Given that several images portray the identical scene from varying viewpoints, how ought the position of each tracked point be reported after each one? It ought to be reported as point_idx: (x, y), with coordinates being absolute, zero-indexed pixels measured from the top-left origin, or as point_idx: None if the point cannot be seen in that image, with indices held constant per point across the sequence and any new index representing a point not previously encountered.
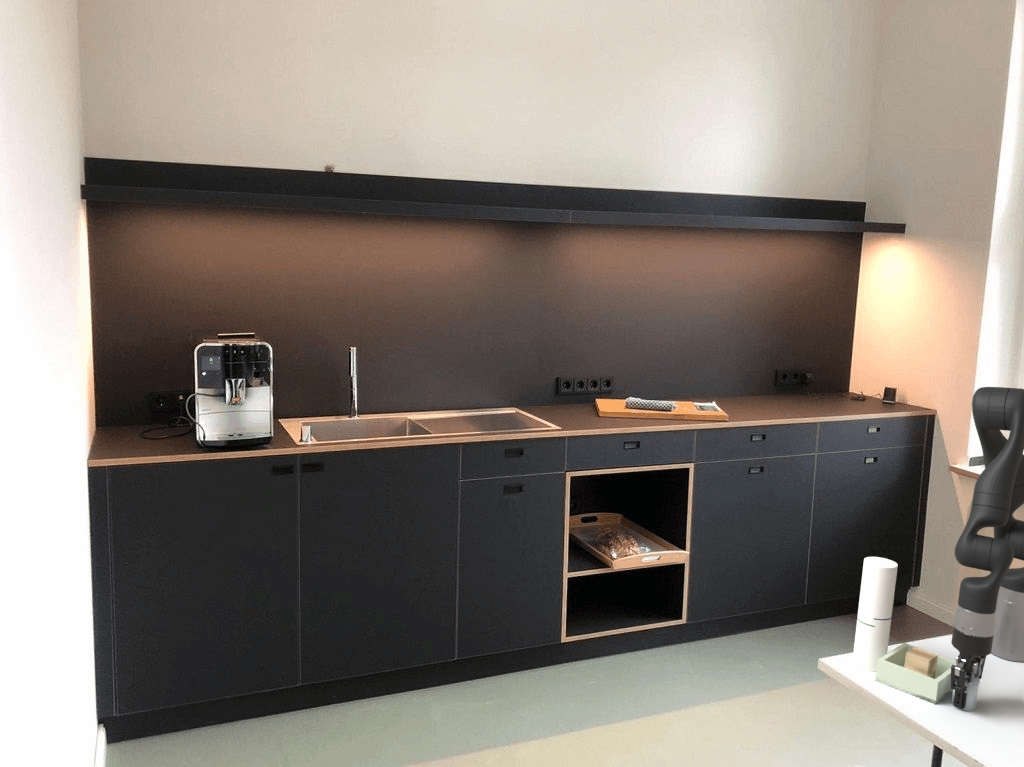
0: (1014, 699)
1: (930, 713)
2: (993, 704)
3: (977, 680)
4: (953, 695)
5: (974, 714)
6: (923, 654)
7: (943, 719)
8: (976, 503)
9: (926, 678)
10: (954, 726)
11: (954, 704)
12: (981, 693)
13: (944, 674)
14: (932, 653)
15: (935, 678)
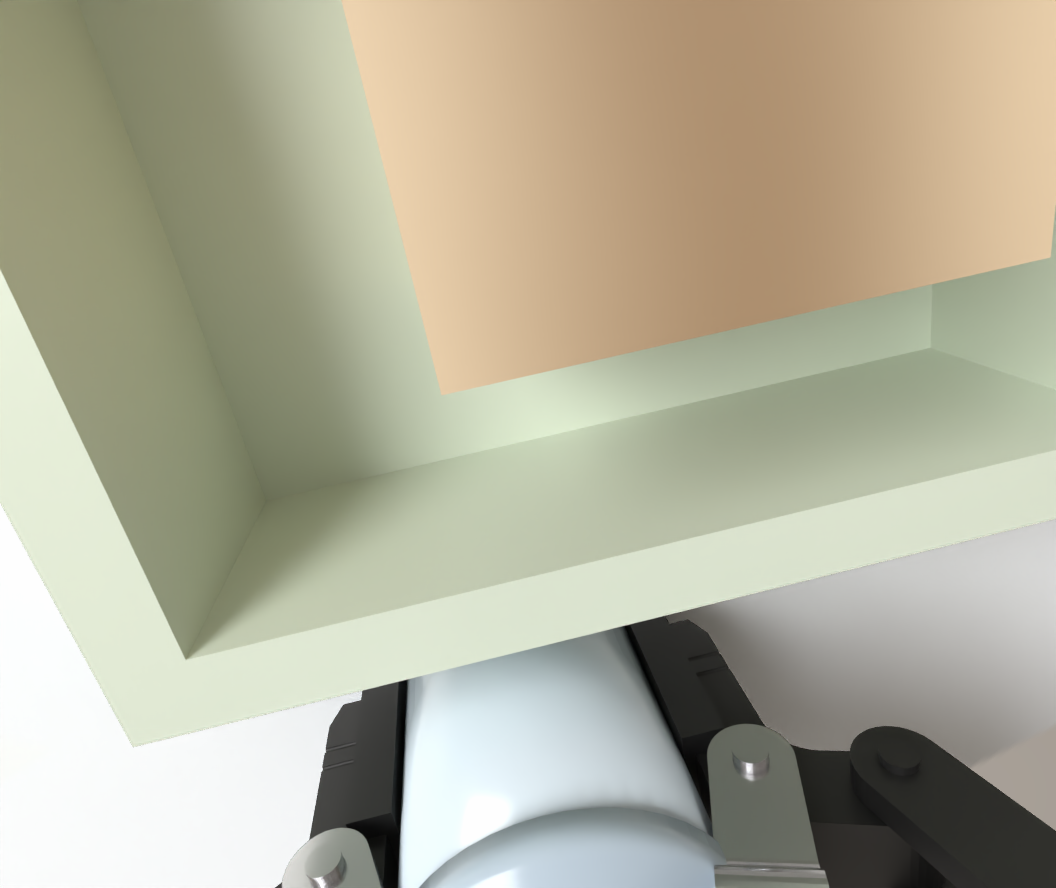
0: (1033, 731)
1: (4, 637)
2: (795, 726)
3: None
4: (421, 681)
5: None
6: (729, 9)
7: (53, 749)
8: None
9: (42, 573)
10: (56, 848)
11: (340, 709)
12: (923, 574)
13: (536, 604)
14: (1035, 114)
15: None
